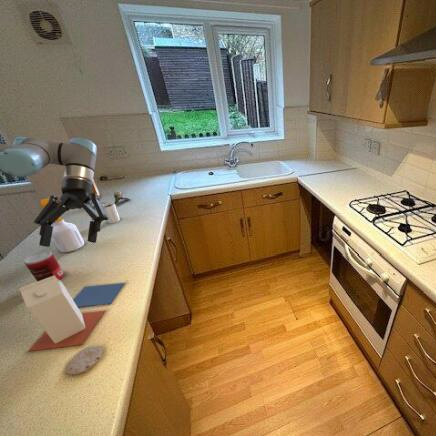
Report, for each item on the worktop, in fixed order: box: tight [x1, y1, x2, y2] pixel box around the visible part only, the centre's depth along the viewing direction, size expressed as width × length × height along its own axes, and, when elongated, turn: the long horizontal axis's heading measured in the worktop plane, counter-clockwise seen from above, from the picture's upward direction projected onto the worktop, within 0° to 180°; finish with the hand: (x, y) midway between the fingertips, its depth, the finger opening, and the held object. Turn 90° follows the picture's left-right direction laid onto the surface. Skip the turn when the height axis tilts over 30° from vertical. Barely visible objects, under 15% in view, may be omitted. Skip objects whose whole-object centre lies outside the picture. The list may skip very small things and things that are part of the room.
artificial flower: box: [88, 190, 130, 207], centre depth 155 cm, size 9×22×10 cm, turn 114°
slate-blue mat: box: [73, 282, 126, 309], centre depth 85 cm, size 14×10×1 cm
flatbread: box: [65, 345, 104, 376], centre depth 64 cm, size 8×8×1 cm
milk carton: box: [18, 275, 85, 344], centre depth 68 cm, size 7×7×19 cm
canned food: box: [23, 250, 65, 282], centre depth 91 cm, size 8×8×11 cm
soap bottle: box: [40, 197, 85, 253], centre depth 107 cm, size 9×9×25 cm
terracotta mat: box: [28, 310, 106, 352], centre depth 73 cm, size 14×12×1 cm
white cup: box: [102, 202, 121, 224], centre depth 133 cm, size 7×7×10 cm
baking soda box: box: [91, 178, 101, 196], centre depth 163 cm, size 10×6×16 cm
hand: (68, 244), depth 75 cm, fingers open, 13 cm apart
